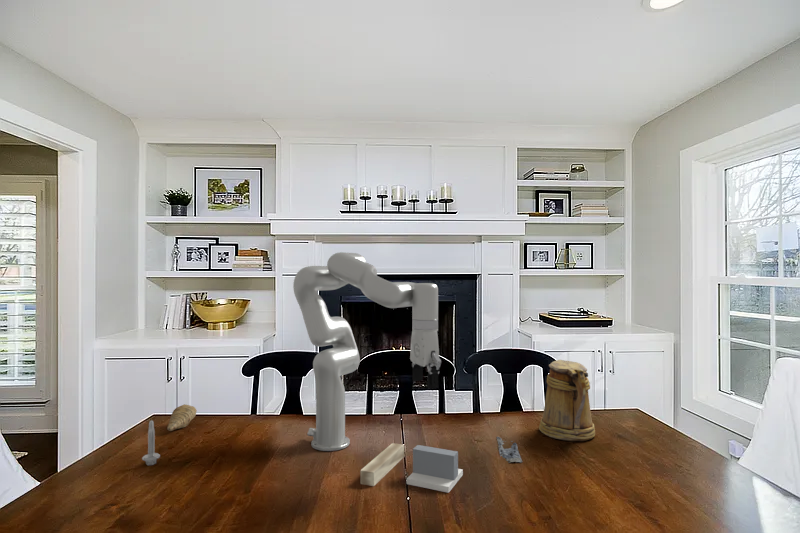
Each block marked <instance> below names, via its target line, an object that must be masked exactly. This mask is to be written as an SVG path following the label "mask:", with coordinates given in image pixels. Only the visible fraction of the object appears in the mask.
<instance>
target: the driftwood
mask: <svg viewBox="0 0 800 533" xmlns="http://www.w3.org/2000/svg"><path fill="white" fill-rule="evenodd" d="M496 440H497V445H498V446H497V447H498V452H499V456H500V457H501V456H502V457H503V458H505V459H506V460H505V459H504V460H505V461H507V463H508V464H509V463H514V462H515V463H523V460H522V456H521V455H520V451H519V449H518V444H517V443H516V442H514V441H513V440H510V442H511V443H512V445H510V448H504V446H503V445H505V443H506V442H507V441H505V440H503V439H502V438H501V437H500V436H496ZM504 442H505V443H504ZM513 442H514V443H513ZM503 458H502V459H503Z"/></svg>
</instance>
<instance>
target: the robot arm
mask: <svg viewBox="0 0 800 533" xmlns="http://www.w3.org/2000/svg"><path fill="white" fill-rule="evenodd" d="M292 284H293V287H292V288H293V294H294V297H295V299H296V301H297V304H298V306H299V309H300V311H301V314H302V318H303V321H304V325H305V328H306V331H307V335H308V338H309V340H310V343H311V344H312V345H313V346H315V347H317V348H318V347H326V346H332V348H327V349H324V350H322V351H320V352H318V353H317V354H316V355H315V356H314V358H313V361H312V369H313V375H314V380H315V398H316V399H315V409H316V410H315V420H316V421H315V428H313V427H309V428H308V431H307V436H308V437H312V438H313V439H312V440H311V442H310V443H311V448H313V449H315V450H318V451H322V452H334V451H339V450H343V449H345V448H347V447H349V445H350V443H351V442H350V440H351V439H350V438H349V437H348V436H346V390H345V386H344V382H343V380H342V378H341V376H344V375H348V374H351V373H353V372H355V371H356V370H358V368H359V365H360V362H361V361H360V360H361V357H360V353H359V350H358V346H357V343H356V340H355V337H354V334H353V330H352V327H351V325H350V324H349V322H348V321H347V320H346V319H345V317H342V316H331V315H330V314H329V311H328V307H327V305H326V302H325V301H324V299H323V298H322V296H321V295H320V294H319V293H318V291H319V292H320V291H334V290H338V289H340V288H342V287H345V286H346V285H351V286H353V287H355V288H357V289H359V290H360V291H361V292H362V294H363V295H364V297H365V298H367V299H369V300H371V301H372V302H374V303H377V304H378V305H381V306H383V307H385V308H389V309H397V308H406V307H412V311H411V313H412V314H411V315H412V316H411V317H412V331H411V338H410V351H409V353H410V356H409V358H410V362H412V363H411V367H412V381H413V382H419V381H423V379H424V370H423V369H424V367H426V368H427V372H428V374H427V383H426V384H427V387H426V388H427V389H437V388H439V374H440V369H441V365H442V359H441V358H440V348H439V347H440V346H439V336H438V335H439V333H438V332H439V287H438V285H437V284H435V283H433V282H419V283H417V282H410V281H393V282H392V281H389V280H387V279H384V278H383V277H380V276H378V271H377V268H376V267H375V265H373V264H370V263H368V262H367V260H366V258H364V256H363V255H361V254H359V253H357V252H342V251H341V252H335V253H334V254H332V255H331V256H330V257H329V258H328V259H327V265H310V266H305V267H302V268H301V269H300V270H298V272H297V273H296V274H295V276H294V279H293V283H292Z"/></svg>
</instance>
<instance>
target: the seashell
mask: <svg viewBox="0 0 800 533" xmlns="http://www.w3.org/2000/svg"><path fill="white" fill-rule="evenodd" d="M197 412H198V411H197V408H196V407H195V406H192V405H189V404H181V405H180V406H177V407H176V408H174V409H173V411H172V413H171V416H170V419H169V421H168V424H167V428H166V430H168V431H170V432H172V431H174V430H179V429H182V428H186V427H188V426H189V424H190V422H191V421H192V420H193V419H194V418H195V417H196V414H197Z"/></svg>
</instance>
